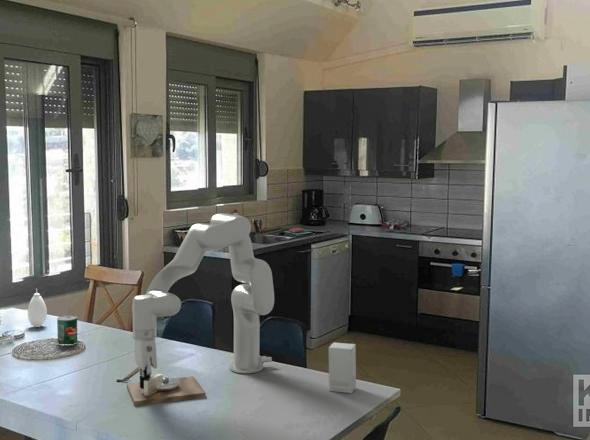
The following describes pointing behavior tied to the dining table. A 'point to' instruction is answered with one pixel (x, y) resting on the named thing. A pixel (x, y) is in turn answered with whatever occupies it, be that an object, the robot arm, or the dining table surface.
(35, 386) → the dining table surface
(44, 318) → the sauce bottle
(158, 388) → the dial
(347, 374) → the skincare box
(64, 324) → the canned tomato
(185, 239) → the robot arm
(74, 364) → the dining table surface
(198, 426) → the dining table surface
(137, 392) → the dial plate
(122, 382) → the tan handled tool
